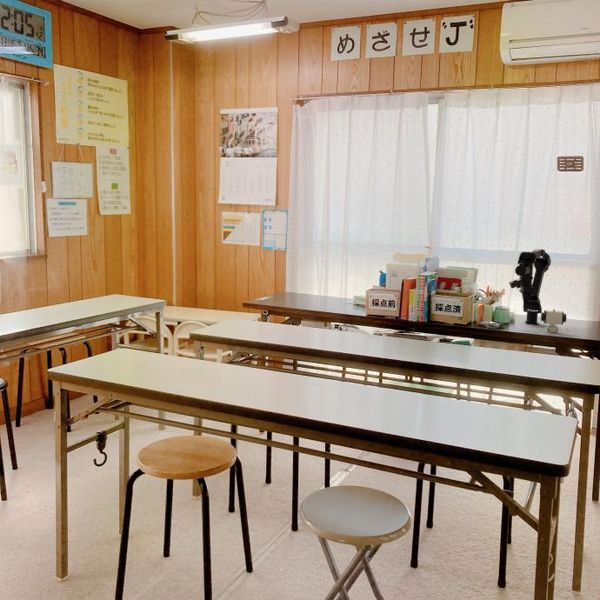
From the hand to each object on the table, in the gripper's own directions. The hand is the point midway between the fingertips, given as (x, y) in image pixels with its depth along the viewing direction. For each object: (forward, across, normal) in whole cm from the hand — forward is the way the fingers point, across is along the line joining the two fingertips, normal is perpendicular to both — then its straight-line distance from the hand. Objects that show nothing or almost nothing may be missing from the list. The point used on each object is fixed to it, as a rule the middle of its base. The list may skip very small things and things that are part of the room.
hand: (524, 303), depth 332 cm
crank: (+12, +5, -19) cm, 23 cm away
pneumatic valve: (+13, +12, +12) cm, 21 cm away
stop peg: (+12, +6, -13) cm, 19 cm away
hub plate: (+12, +7, -17) cm, 22 cm away
